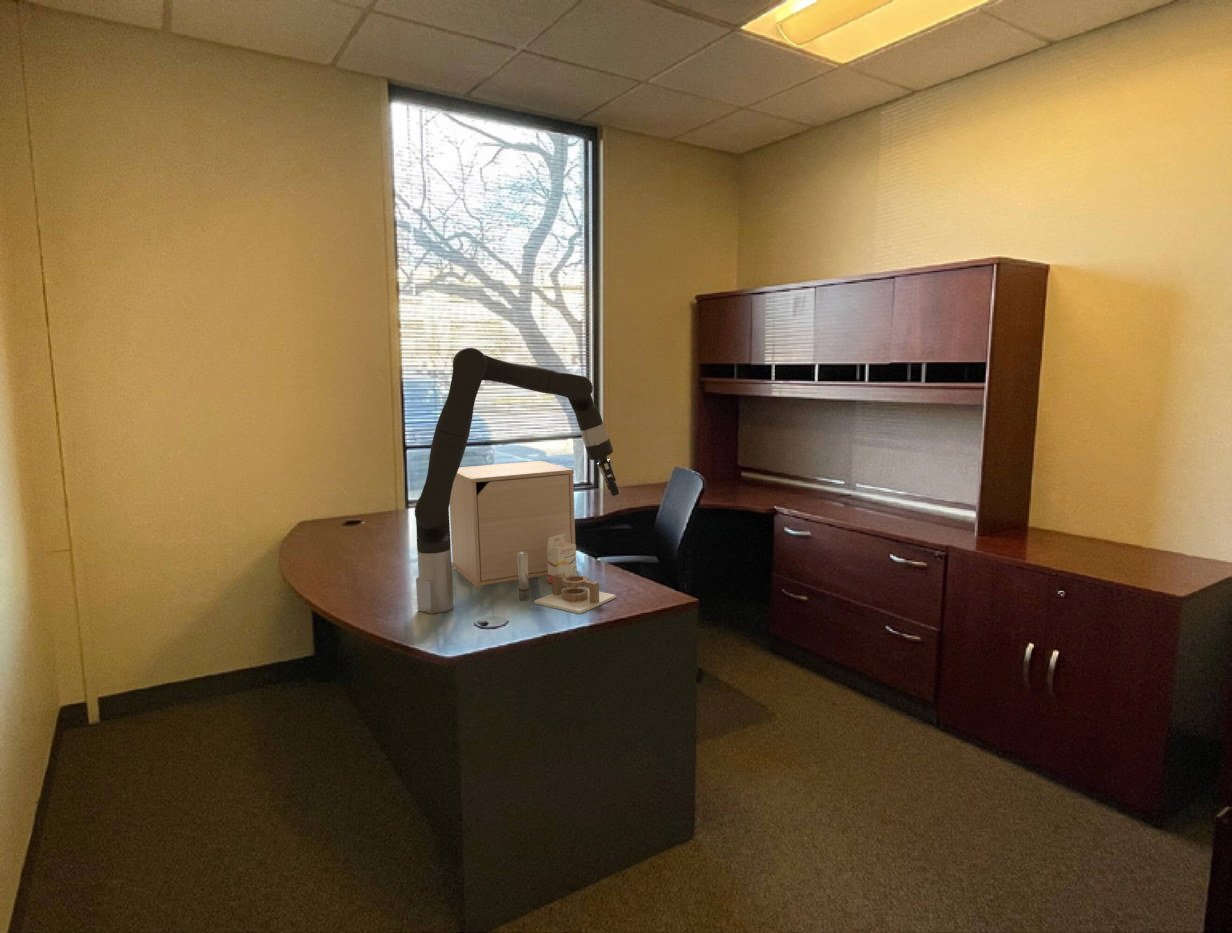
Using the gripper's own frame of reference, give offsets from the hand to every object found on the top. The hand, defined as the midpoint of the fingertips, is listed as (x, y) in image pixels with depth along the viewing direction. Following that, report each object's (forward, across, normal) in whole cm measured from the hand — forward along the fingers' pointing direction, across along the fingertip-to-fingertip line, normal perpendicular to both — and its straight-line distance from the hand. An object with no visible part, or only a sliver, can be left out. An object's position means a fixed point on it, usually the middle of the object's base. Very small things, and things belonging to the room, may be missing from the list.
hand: (613, 491), depth 215 cm
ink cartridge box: (+25, -12, -24) cm, 37 cm away
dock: (+25, +8, -21) cm, 34 cm away
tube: (+21, +3, -36) cm, 41 cm away
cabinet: (+21, -32, -40) cm, 55 cm away
